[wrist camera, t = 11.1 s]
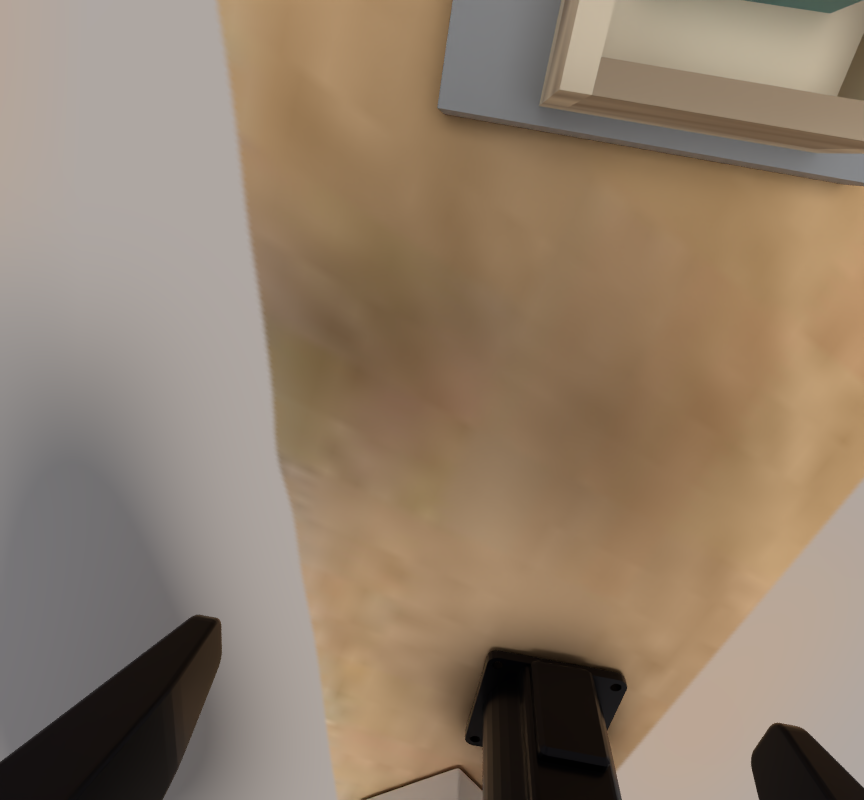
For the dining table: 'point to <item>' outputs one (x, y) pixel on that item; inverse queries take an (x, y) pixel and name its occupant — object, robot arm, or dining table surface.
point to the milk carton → (437, 789)
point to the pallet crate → (714, 69)
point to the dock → (519, 106)
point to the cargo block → (811, 4)
